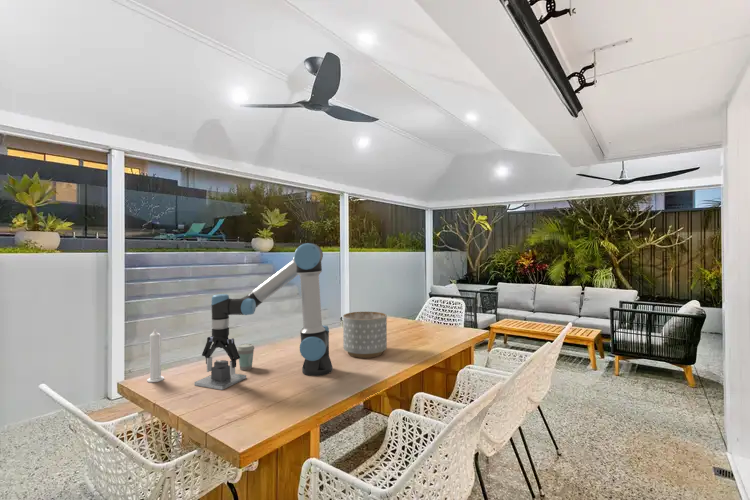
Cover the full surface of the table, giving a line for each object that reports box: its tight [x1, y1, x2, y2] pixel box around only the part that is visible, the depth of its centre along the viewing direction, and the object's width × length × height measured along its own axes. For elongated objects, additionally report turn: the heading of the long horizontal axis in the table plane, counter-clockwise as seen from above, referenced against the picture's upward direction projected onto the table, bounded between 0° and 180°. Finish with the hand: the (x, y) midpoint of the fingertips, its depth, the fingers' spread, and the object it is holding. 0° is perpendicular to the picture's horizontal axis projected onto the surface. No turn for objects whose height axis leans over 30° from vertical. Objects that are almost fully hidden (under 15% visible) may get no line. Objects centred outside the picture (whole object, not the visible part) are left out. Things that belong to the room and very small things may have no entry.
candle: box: [146, 327, 165, 383], centre depth 186 cm, size 7×7×25 cm
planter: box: [342, 311, 388, 359], centre depth 230 cm, size 26×26×22 cm
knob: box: [210, 359, 231, 381], centre depth 183 cm, size 6×6×8 cm
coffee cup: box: [236, 343, 255, 371], centre depth 203 cm, size 8×8×12 cm
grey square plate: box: [193, 373, 247, 391], centre depth 183 cm, size 16×16×6 cm
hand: (220, 372), depth 183 cm, fingers open, 13 cm apart
